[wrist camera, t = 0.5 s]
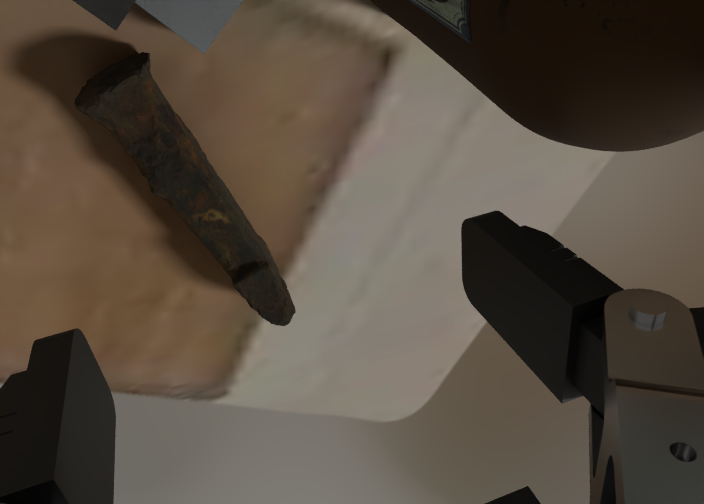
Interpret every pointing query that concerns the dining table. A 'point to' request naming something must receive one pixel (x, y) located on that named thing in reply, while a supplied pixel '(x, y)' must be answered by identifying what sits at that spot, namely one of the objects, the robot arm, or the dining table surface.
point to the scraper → (172, 16)
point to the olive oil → (575, 63)
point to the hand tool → (185, 179)
